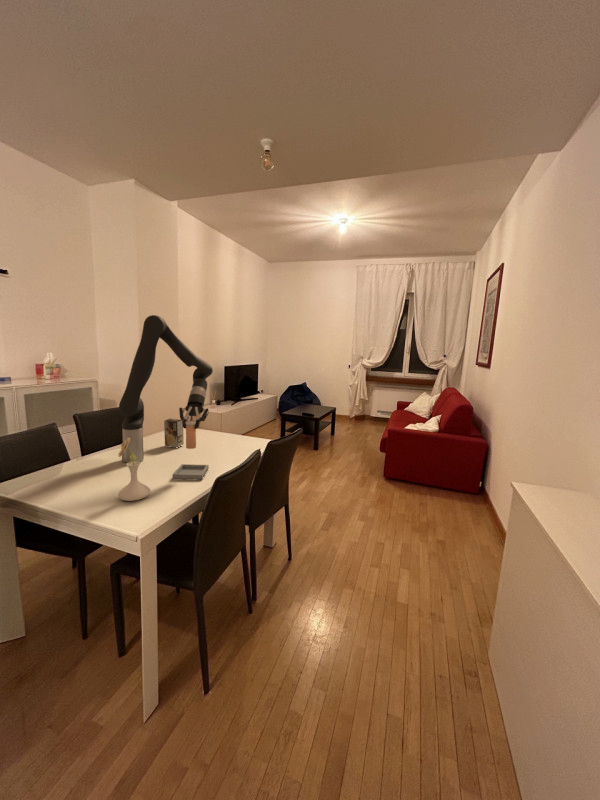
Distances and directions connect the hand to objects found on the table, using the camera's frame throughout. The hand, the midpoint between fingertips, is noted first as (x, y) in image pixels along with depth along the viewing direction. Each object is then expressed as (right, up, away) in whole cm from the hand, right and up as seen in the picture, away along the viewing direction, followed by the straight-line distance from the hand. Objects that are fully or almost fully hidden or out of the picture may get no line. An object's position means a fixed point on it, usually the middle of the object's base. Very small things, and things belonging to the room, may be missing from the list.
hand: (190, 427), depth 149 cm
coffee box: (-25, -15, +46) cm, 54 cm away
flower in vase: (-15, -26, -21) cm, 37 cm away
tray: (-1, -22, +4) cm, 23 cm away
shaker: (-1, -9, +3) cm, 10 cm away
